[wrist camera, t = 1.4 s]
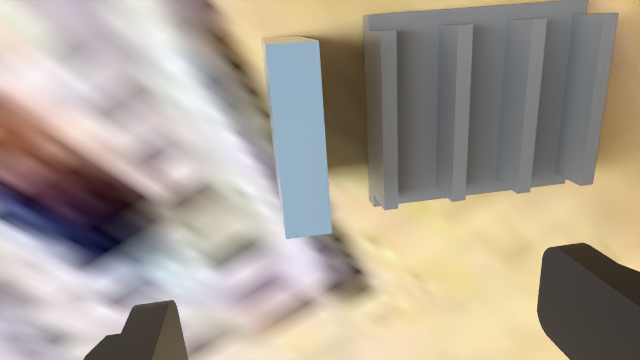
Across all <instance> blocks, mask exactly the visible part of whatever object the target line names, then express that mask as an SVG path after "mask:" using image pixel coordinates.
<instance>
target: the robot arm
mask: <svg viewBox="0 0 640 360" xmlns="http://www.w3.org/2000/svg"><path fill="white" fill-rule="evenodd" d="M537 312H538V318H539V321H540V324H541V326H542V328H543V330H544V332H545V333H546V335H547V336H548V337H549V338H550V339H551V340H552V341H553V342H554V344H555V345H556V346H557V347H558V348H559V349H560V350H561V351H562V352H563V353H564V354H565V355H566V356H567V357H568V358H569V359H570V360H640V272H639V271H636V270H633V269H631V268H628V267H626V266H623V265H620V264H618V263H617V262H615V261H613V260H612V259H610V258H609V257H607V256H606V255H604V254H602V253H601V252H599V251H598V250H596V249H595V248H593V247H591V246H590V245H588V244H585V243H577V244H570V245H563V246H556V247H550V248H548V249H546V251H545V252H544V254H543V258H542V267H541V276H540V286H539V295H538V305H537ZM84 360H188V356H187V351H186V347H185V342H184V337H183V333H182V328H181V323H180V319H179V314H178V309H177V306H176V303H175V302H174V301H173V300H169V301H162V302H155V303H148V304H141V305H135V306H134V307H133V308H132V310H131V312H130V314H129V316H128V319H127V321H126V323H125V326H124V328H123V330H122V332H121V334H114V335H107V336H106V337H105V338H104V339H103V340H101V341H100V342H99V343H98V344H97V345H96V346H95V347H94V348H93V349H92V350H91V351H90V352H89V353H88V354H87V355H86V356H85V358H84Z"/></svg>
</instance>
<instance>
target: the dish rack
mask: <svg viewBox="0 0 640 360" xmlns="http://www.w3.org/2000/svg"><path fill="white" fill-rule="evenodd" d="M587 3H588V0H566V1H552V2H539V3H525V4H512V5H498V6H485V7H471V8H458V9H444V10H431V11H417V12H403V13H390V14H376V15H364V16H363V30H364V59H365V88H366V117H367V146H368V175H369V200H370V201H371V203H372V204H373V206H374V207H376V206H382V207H383V209H384V210H389V209H397V208H398V204H400V203H408V202H417V201H425V200H433V199H441V198H449V199H450V200H451V201H452V202H453V201H461V200H465V196H466V195H474V194H482V193H490V192H498V191H506V190H512V191H514V192H516V193H517V194H518V193H526V192H530V188H531V187H539V186H547V185H555V184H563V183H565V178H566V179H568V180H570V181H572V182H574V183H576V184H578V185H580V186H582V185H590V184H593V179H594V172H595V166H596V159H597V152H598V146H599V139H600V132H601V126H602V119H603V112H604V106H605V99H606V92H607V86H608V79H609V72H610V66H611V59H612V52H613V46H614V39H615V32H616V26H617V19H618V13H597V14H586V11H587Z"/></svg>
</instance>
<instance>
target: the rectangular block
mask: <svg viewBox="0 0 640 360" xmlns="http://www.w3.org/2000/svg"><path fill="white" fill-rule="evenodd" d="M261 42H262V51H263V60H264V69H265V78H266V87H267V96H268V105H269V114H270V123H271V133H272V142H273V151H274V160H275V169H276V177H277V183H278V190H279V196H280V203H281V209H282V216H283V222H284V229H285V235H286V239H290V238H298V237H305V236H313V235H321V234H329V233H332V227H331V212H330V197H329V183H328V168H327V153H326V138H325V123H324V109H323V94H322V79H321V64H320V50H319V40H314V39H310V38H305V37H300V36H287V37H274V38H262V39H261Z"/></svg>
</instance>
